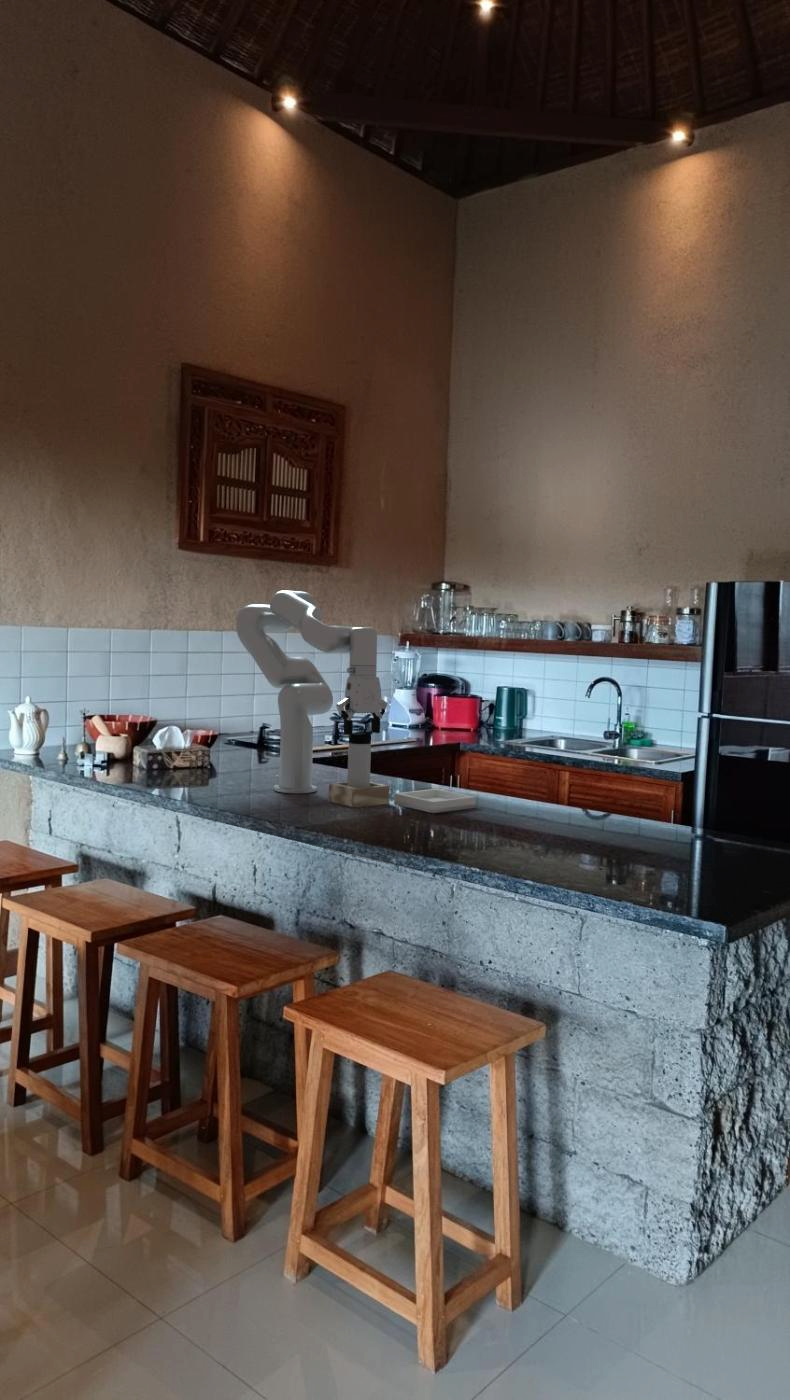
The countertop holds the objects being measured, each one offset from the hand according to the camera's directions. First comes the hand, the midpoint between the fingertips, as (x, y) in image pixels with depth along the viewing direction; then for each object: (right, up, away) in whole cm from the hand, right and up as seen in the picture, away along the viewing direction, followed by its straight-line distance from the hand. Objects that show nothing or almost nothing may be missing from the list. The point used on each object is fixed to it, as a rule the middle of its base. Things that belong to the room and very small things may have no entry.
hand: (361, 733), depth 282 cm
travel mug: (-1, -19, +2) cm, 20 cm away
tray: (+20, -20, 0) cm, 28 cm away
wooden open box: (-1, -19, +2) cm, 19 cm away
